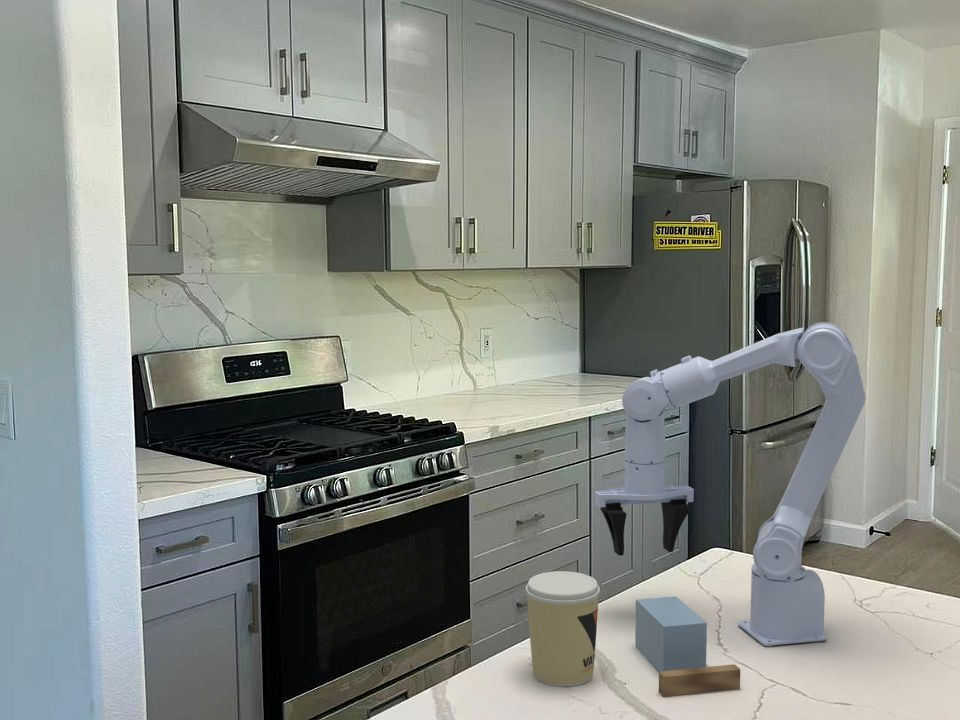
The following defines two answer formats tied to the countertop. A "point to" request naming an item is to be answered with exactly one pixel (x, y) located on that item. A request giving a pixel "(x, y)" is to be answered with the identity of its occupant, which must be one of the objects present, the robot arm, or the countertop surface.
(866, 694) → the countertop surface
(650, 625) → the blue-grey rectangular block
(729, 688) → the brown rectangular block
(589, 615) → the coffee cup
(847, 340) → the robot arm
